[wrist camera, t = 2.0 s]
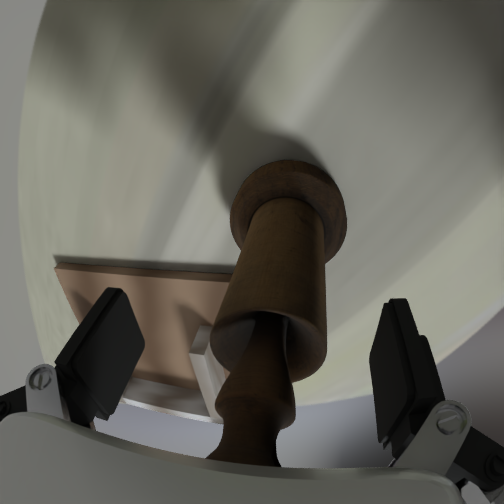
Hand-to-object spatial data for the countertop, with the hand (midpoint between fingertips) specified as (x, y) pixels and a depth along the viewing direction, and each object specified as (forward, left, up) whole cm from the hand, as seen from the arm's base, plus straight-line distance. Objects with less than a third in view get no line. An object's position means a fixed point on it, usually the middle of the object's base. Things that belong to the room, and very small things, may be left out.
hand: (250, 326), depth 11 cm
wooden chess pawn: (-1, 0, -10) cm, 10 cm away
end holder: (+11, +13, -10) cm, 20 cm away
